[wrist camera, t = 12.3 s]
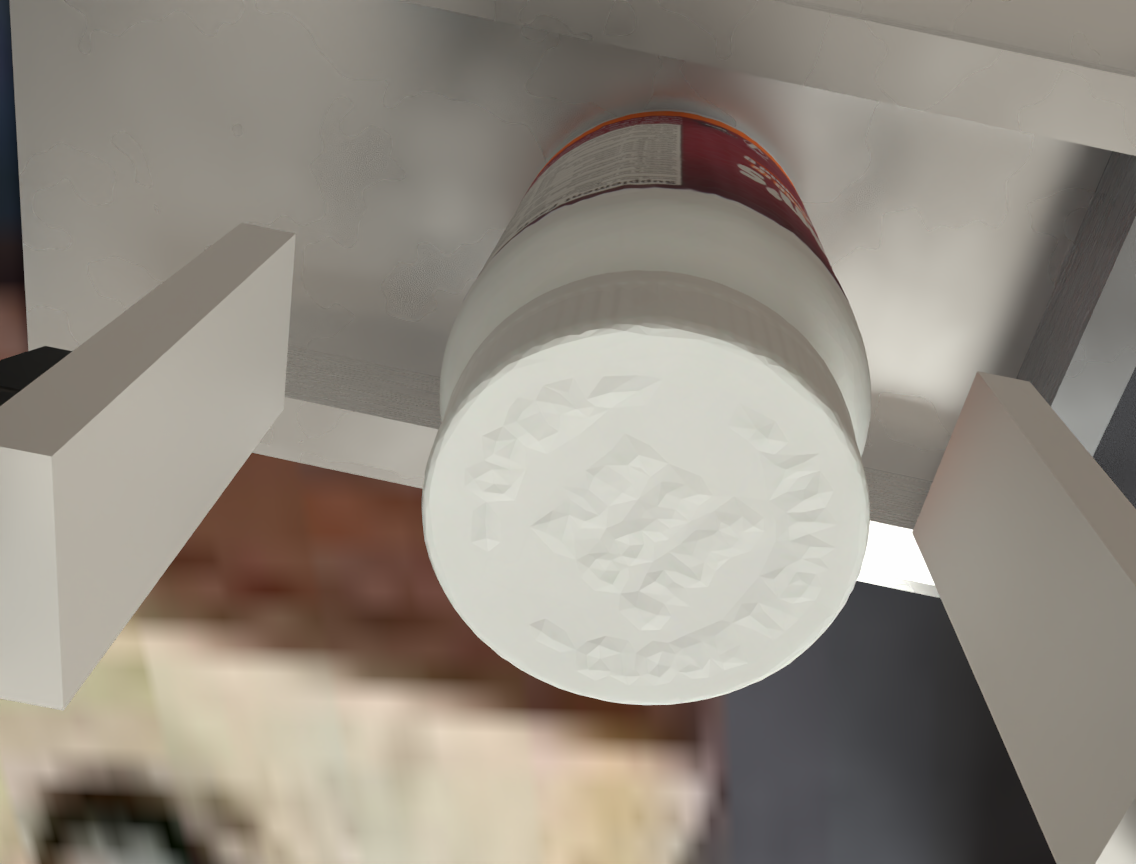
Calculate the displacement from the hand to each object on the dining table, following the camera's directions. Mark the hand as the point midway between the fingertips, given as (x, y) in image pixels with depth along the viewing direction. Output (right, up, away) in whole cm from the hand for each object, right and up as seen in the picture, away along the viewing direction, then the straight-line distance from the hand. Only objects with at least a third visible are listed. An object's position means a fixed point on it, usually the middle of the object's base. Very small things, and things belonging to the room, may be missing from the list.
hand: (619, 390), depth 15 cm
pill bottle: (+1, +3, +7) cm, 8 cm away
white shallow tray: (-1, +4, +7) cm, 8 cm away
